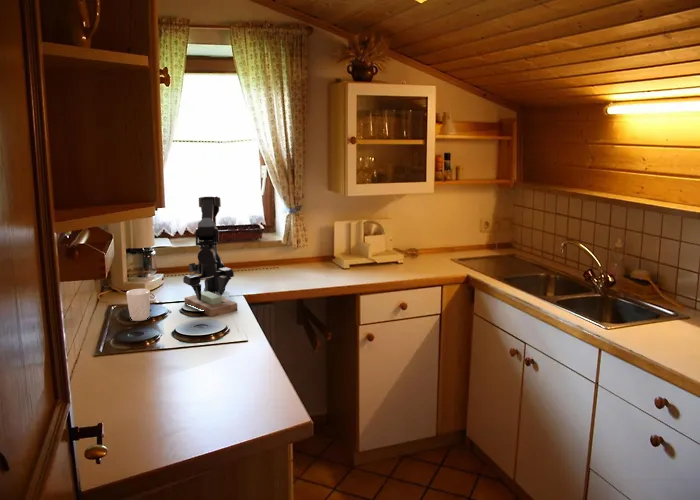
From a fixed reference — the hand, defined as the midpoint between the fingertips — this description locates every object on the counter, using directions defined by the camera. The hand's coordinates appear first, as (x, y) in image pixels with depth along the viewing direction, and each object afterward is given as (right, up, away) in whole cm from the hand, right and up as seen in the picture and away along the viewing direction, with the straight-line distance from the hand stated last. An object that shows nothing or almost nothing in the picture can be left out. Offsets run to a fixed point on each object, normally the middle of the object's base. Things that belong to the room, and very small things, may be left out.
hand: (210, 297), depth 230 cm
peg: (0, -3, +1) cm, 3 cm away
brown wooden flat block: (0, -4, +1) cm, 4 cm away
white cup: (-23, -7, -11) cm, 26 cm away
